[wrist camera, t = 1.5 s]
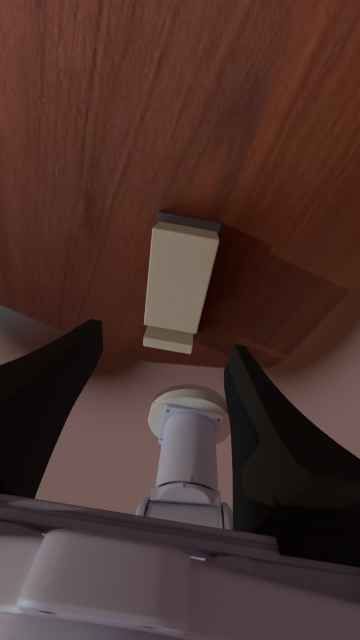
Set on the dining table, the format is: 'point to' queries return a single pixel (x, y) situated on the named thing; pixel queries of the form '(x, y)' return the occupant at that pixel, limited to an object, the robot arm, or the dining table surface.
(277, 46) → the dining table surface
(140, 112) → the dining table surface
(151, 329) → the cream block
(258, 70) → the dining table surface
